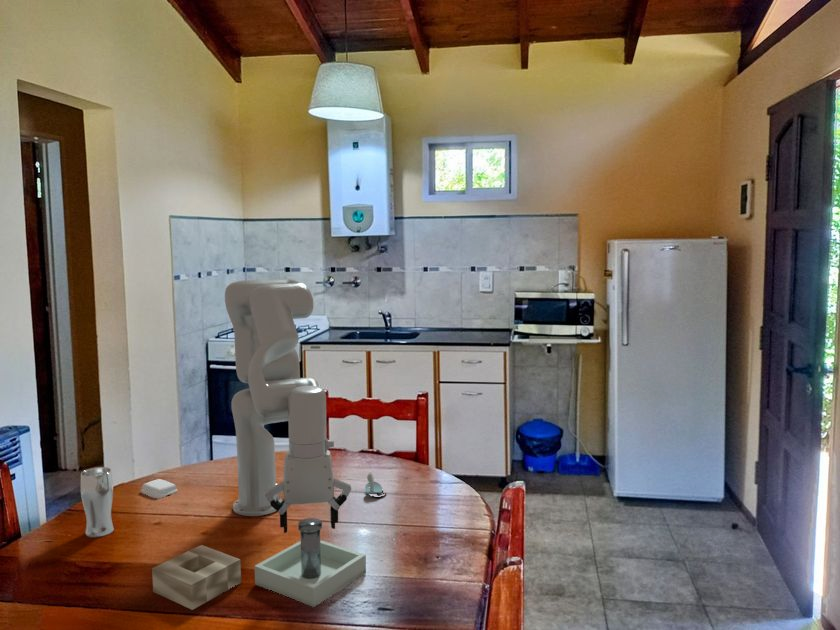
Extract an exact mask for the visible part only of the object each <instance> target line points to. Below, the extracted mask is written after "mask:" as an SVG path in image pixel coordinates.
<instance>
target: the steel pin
mask: <svg viewBox="0 0 840 630" xmlns="http://www.w3.org/2000/svg"><path fill="white" fill-rule="evenodd" d="M297 525H298V526H297V527H298V529H297V530H298V531H299V533H300V535H299V536H300V541H301V573H302V577H303V578H306V579H314V578H317V577H319V576H320V575H321V545H320V540H321V530H322V529H323V521H322V520H321V519H320V518H315V517H310V518H309V517H308V518H304V519H303V518H302V519H301V520H299V522H298V523H297Z"/></svg>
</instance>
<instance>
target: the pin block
mask: <svg viewBox="0 0 840 630" xmlns="http://www.w3.org/2000/svg"><path fill="white" fill-rule="evenodd" d="M241 567H242V565H241V559H240V558H238V557H235V556H232V555H229V554H227V553H224V552H221V551H219V550H216V549H214V548H211V547H208V546H205V545H203V544H201V545H199V546H196V547H194V548H192V549H189V550H187V551H186V552H182V553H181V554H180V555H177V556H175V557H173V558H170V559H168V560H167V561H164V562H162V563H160V564H157V565H156V566H154V567H152V568H151V574H152V592H153V593H155V594H157V595H160V596H162V597H163V598H165V599H168V600H170V601H172V602H174V603H176V604H179V605H181V606H183V607H185V608H188V609H189V610H191V611H193V610H195V609H197V608H199V607H200V606H202V605H204V604H206V603H207V602H209V601H211V600H213V599H215V598H217V597H219V596H220V595H222V594H223V592H224V593H225V592H227V591H229V590H230V588H231V589H232V587H233V588H235V587H236V586H238V585H240V584H241V583H242V571H241V569H242V568H241ZM235 585H236V586H235Z"/></svg>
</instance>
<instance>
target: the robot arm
mask: <svg viewBox="0 0 840 630" xmlns="http://www.w3.org/2000/svg"><path fill="white" fill-rule="evenodd" d="M224 303H225V309H226V311H227V315H228V317H229V319H230V321H231V324H232V328H233V334H234V356H235V370H236V376H237V378H238V380H239V381H240V382H241V383H244V384H248V388H245V389H242V390H239V391H237V392H236V393H235V394H234V395H233V397H232V399H231V412H232V416H233V422H234V429H235V436H236V439H235V440H236V452H237V453H236V456H237V458H236V460H237V461H236V462H237V483H238V484H237V486H238V487H237V488H238V499H236V500H235V501H234V502H233V504H232V510H233V512H234V513H236V514H238V515H239V516H242V517H243V516H244V517H259V516H264V515H265V516H266V515H269V514H273V513H275V512H277V513H278V514H279V527H280V528H283V534H287V533H288V509H289V507H291V506H295V505H297V506H298V505H310V504H321V503H322V504H323V503H328V504H329V505H330V509H329V511H330V526H331V529H333V530H334V529H336V523H337V524H338V523H339V510H340V508H341V506H342V505H344V503H345V502H346V501H347V499H348V497H349V495H350V493H351V491H352V486H351V484H349V483H347V482H344V481H341V480H340V479H338V478H335V477H334V469H333V468H334V467H333V462H332V461H333V459H332V454H331V451H330V450H329V449H330V448H334V447H335V446H334V445H335V441H334V440H330V439H329V438H327V395H326V391H325V390H324V388H322V387H321V385H320V384H319V383H318V381H317V380H316V379H315V378H313V377H301V369H300V367H301V365H300V359H299V354H298V352H297V350H296V346H297V345H298V343H299V340H300V339H299V334H298V331H297V328H296V325H295V321H294V320H297V319H298V320H299V319H307V318H309V317H310V316H311V315H312V313H313V310H314V298H313V295H312V292H311V290H310V289H309V287H308V285H306V284H305V283H303V282H301V281H297V280H294V279H293V278H291V279H290V278H286V279H285V278H278V279H277V278H276V279H275V278H274V279H272V278H271V279H247V280H239V281H234V282H231V283H229V284H228V285H227V287H226V288H225V292H224ZM281 422H282V423H284V422H288V452H286V453H285V456H284V461H283V462H284V463H283V475H282V476H283V478H282V481H281V482H280V483H277V481H276V473H277V472H276V449H275V448H276V446H275V445H276V444H275V439H274V437H273V435H272V434H271V433H270V432H269V431H268V429H266V428H265V425H269V424H276V423H281ZM335 488H337V489H339V490H342V491H341V493H340V494H339V495H338V496H337V497H335ZM282 493H283V499H282V498H281V497H280V495H281V494H282Z"/></svg>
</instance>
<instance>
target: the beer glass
mask: <svg viewBox="0 0 840 630" xmlns="http://www.w3.org/2000/svg"><path fill="white" fill-rule="evenodd" d="M80 497H81V502H82V505H83V509H84V510H83V511H84V513H85V517H86V528H85V536H87V537H88V538H101V537H105V536H107V535H110V534H111V533H113V531H114V529H115V528H114V525H113V520H112V506H113V497H114V481H113V475H112V469H111V468H110V467H106V466H98V467H96V466H95V467H91V468H87V469H85V470H83V471H82V472H81V473H80Z"/></svg>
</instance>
